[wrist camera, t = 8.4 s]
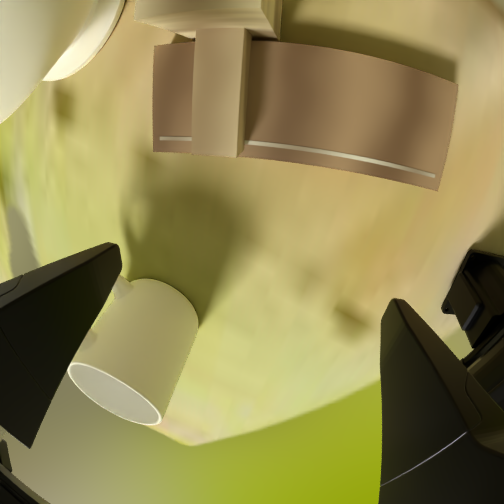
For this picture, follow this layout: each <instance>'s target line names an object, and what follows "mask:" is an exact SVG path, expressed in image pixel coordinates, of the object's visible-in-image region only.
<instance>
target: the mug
mask: <svg viewBox="0 0 504 504" xmlns="http://www.w3.org/2000/svg"><path fill="white" fill-rule="evenodd" d="M112 291H113V293H114V296H115V299H114V300H113V301H112V303H111V304H110V305H109V307H108V308H107V309H106V311H105V312H104V313H103V315H102V316H101V317H100V319H99V320H98V321H97V323H96V324H95V326H94V327H93V328H92V329H91V328H90V329H89V331H88V333H87V335H86V336H85V338H84V340H83V342H82V343H81V345H80V347H79V349H78V351H77V352H76V354H75V356H74V358H73V360H72V362H71V363H70V365H69V367H68V369H67V371H68V373H69V376H70V377H71V379H72V380H73V382H74V383H75V384H76V386H77V387H78V388H79V389H80V390H81V391H82V392H83V393H84V394H85V395H87V396H88V397H89V398H90V399H92V400H93V401H94V402H95V403H97V404H98V405H100V406H101V407H103V408H104V409H106V410H108V411H110V412H111V413H113V414H115V415H117V416H119V417H122V418H124V419H126V420H129V421H132V422H135V423H139V424H144V425H157V424H159V423H160V422H161V421H162V419H163V417H164V414H165V412H166V409H167V407H168V404H169V402H170V399H171V397H172V394H173V392H174V389H175V387H176V384H177V382H178V380H179V377H180V375H181V372H182V370H183V367H184V365H185V362H186V360H187V358H188V355H189V353H190V350H191V348H192V346H193V343H194V341H195V338H196V335H197V332H198V324H199V323H198V317H197V314H196V311H195V309H194V307H193V306H192V304H191V303H190V302H189V300H188V299H187V298H186V297H185V296H184V295H183V294H182V293H180V292H179V291H178V290H176V289H175V288H173V287H172V286H170V285H168V284H166V283H163V282H161V281H158V280H154V279H138V280H134V281H132V282H128V281H127V280H126V279H125V278H124V277H122V276H121V275H119V276H118V278H117V280H116V282H115V284H114V286H113V288H112Z"/></svg>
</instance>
